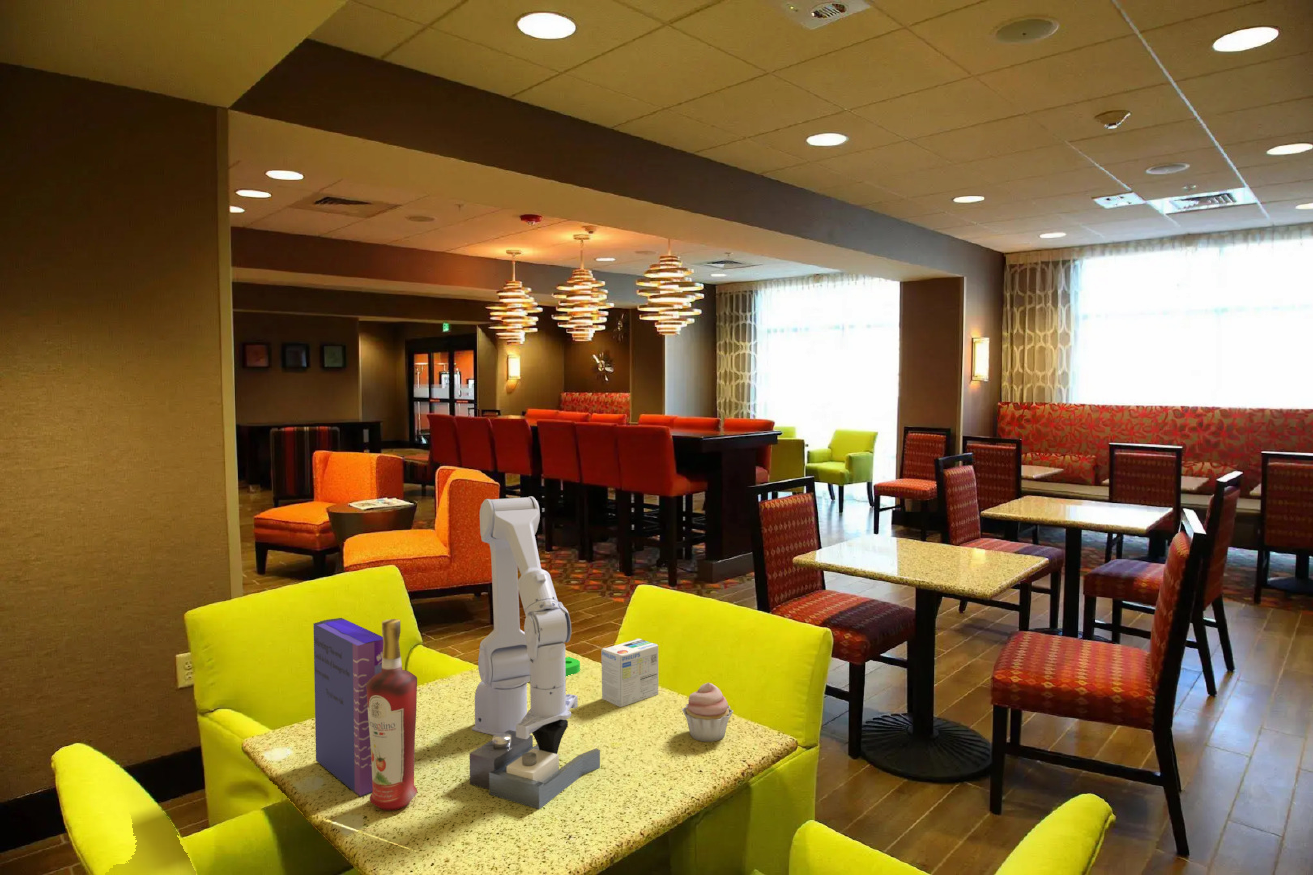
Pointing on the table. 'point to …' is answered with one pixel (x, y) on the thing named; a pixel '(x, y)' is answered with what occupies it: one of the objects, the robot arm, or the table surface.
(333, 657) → the cereal box
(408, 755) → the liquor
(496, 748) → the motor bracket
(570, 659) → the mechanical part
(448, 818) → the table surface
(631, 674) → the light bulb box
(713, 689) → the cupcake
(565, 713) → the robot arm
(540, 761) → the block
